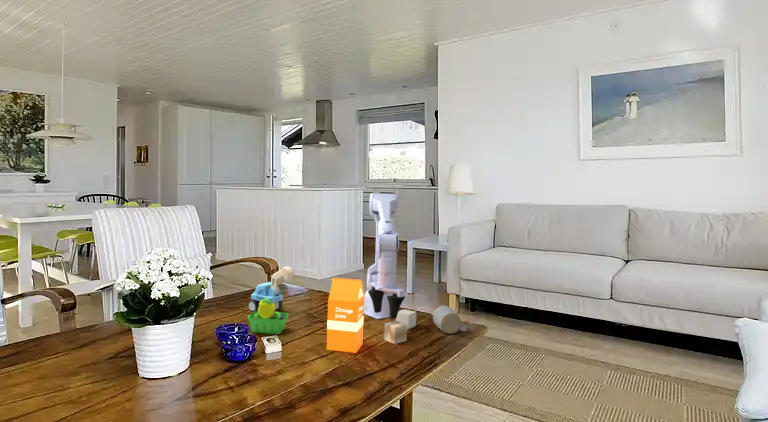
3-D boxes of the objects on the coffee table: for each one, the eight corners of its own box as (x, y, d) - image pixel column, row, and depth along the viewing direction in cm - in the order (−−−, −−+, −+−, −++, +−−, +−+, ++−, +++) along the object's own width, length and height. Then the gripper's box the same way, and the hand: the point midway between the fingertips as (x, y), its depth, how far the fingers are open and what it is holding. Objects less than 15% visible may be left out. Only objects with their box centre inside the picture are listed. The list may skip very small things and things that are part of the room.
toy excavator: (280, 318, 162) (281, 269, 161) (245, 310, 170) (246, 263, 169) (297, 313, 169) (298, 266, 168) (262, 305, 177) (263, 260, 176)
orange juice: (356, 352, 132) (358, 282, 131) (326, 349, 134) (328, 280, 133) (362, 343, 140) (365, 277, 139) (334, 340, 142) (336, 275, 140)
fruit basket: (289, 328, 152) (290, 293, 151) (280, 337, 143) (281, 300, 142) (255, 326, 153) (255, 291, 152) (244, 334, 144) (245, 298, 143)
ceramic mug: (440, 335, 150) (442, 311, 149) (431, 327, 158) (433, 305, 157) (471, 334, 152) (472, 311, 152) (461, 327, 160) (462, 304, 160)
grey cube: (395, 326, 157) (396, 312, 157) (403, 323, 161) (403, 309, 161) (408, 330, 155) (408, 315, 154) (415, 326, 159) (416, 311, 158)
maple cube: (384, 323, 144) (395, 327, 140) (396, 320, 147) (407, 324, 144) (383, 339, 144) (394, 343, 141) (395, 336, 148) (406, 340, 144)
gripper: (362, 269, 150) (361, 311, 150) (392, 277, 139) (391, 322, 139) (379, 267, 154) (378, 308, 155) (410, 275, 143) (408, 319, 144)
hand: (385, 315), depth 147 cm, fingers open, 7 cm apart
